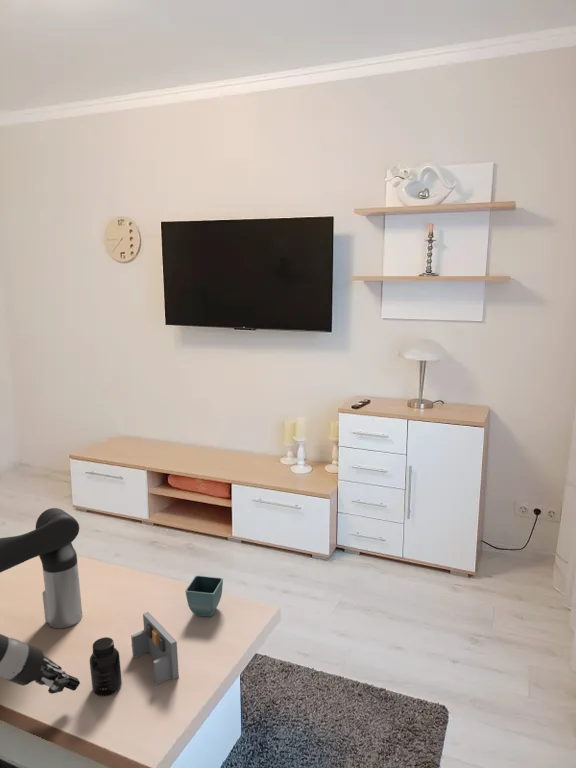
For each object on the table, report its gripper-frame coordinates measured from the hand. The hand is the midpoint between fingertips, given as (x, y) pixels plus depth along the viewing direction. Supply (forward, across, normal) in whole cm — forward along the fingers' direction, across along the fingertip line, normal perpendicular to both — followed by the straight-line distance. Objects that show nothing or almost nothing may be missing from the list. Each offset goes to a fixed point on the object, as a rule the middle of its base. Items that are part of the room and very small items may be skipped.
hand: (76, 685), depth 132 cm
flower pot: (+32, -12, +26) cm, 43 cm away
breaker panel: (+17, 0, +11) cm, 20 cm away
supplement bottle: (+8, 0, +2) cm, 8 cm away
